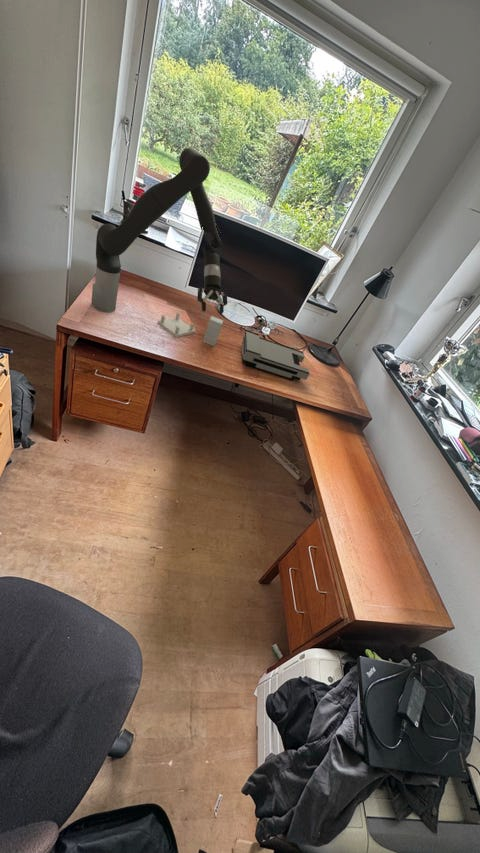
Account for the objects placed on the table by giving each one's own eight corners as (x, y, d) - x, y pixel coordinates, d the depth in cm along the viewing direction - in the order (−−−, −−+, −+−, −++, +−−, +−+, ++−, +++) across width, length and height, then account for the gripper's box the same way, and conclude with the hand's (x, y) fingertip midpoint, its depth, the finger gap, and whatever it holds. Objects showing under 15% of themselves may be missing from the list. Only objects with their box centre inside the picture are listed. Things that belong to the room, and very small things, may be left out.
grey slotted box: (302, 385, 164) (310, 372, 159) (240, 366, 157) (246, 351, 152) (297, 363, 180) (304, 350, 174) (240, 344, 172) (246, 329, 167)
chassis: (175, 337, 154) (178, 329, 151) (157, 323, 157) (159, 314, 155) (194, 332, 163) (196, 325, 160) (176, 319, 166) (178, 311, 164)
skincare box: (215, 342, 164) (223, 320, 156) (214, 346, 160) (222, 324, 153) (203, 338, 163) (211, 315, 155) (202, 342, 160) (209, 319, 152)
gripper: (201, 271, 151) (201, 307, 151) (229, 277, 158) (230, 312, 158) (194, 277, 157) (195, 312, 158) (222, 283, 164) (222, 317, 165)
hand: (212, 312), depth 158 cm, fingers open, 8 cm apart
